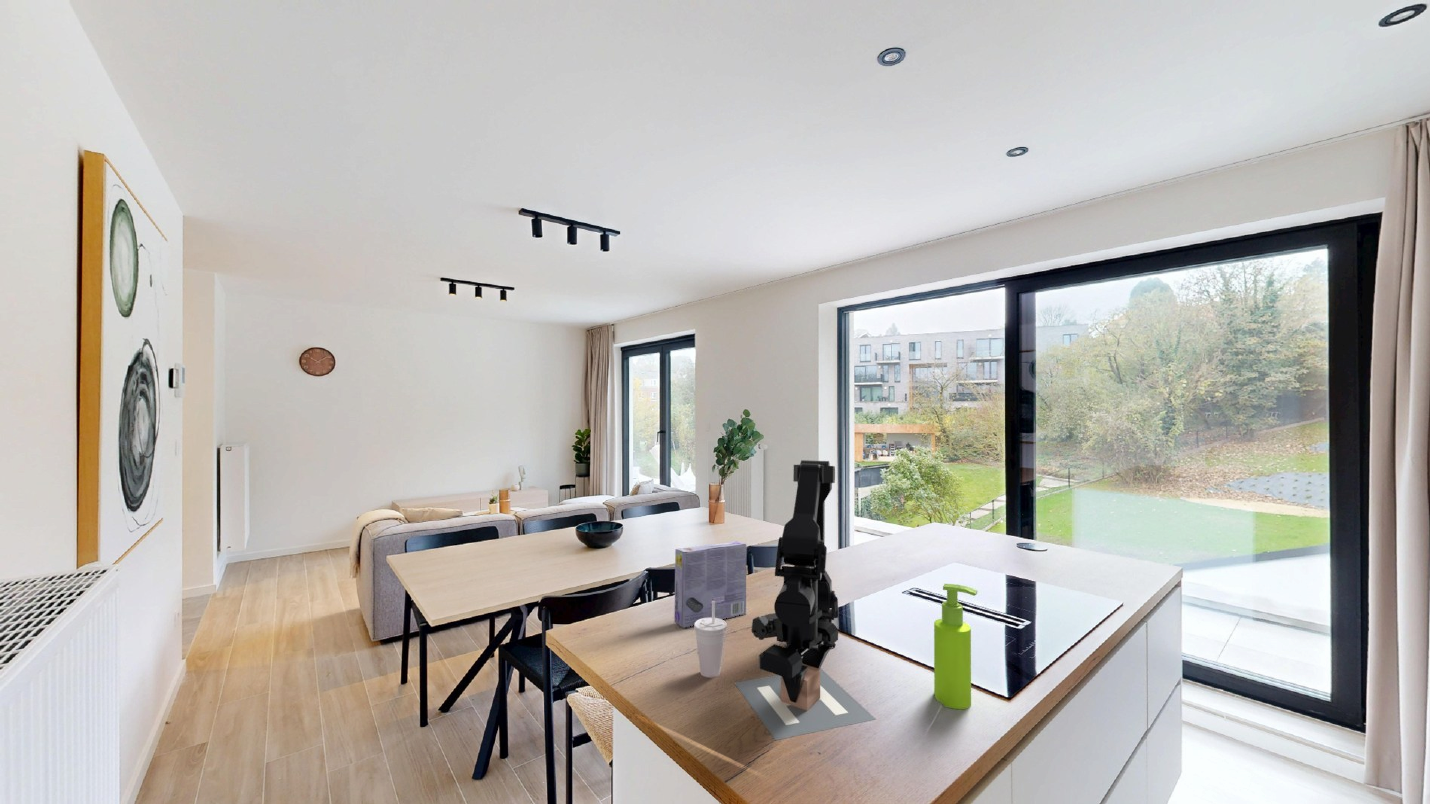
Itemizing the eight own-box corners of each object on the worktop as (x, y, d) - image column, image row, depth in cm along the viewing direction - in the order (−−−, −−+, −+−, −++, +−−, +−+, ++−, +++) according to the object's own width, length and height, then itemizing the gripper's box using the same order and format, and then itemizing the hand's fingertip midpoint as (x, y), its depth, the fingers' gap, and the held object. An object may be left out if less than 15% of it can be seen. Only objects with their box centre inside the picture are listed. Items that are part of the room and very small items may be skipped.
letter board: (820, 670, 104) (820, 668, 104) (876, 721, 86) (876, 719, 87) (734, 684, 98) (734, 682, 98) (775, 742, 81) (775, 740, 81)
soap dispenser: (975, 715, 88) (975, 594, 89) (931, 702, 92) (931, 587, 92) (979, 699, 93) (979, 584, 94) (937, 687, 97) (937, 578, 97)
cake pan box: (739, 607, 136) (740, 538, 137) (751, 614, 132) (751, 542, 132) (672, 622, 126) (673, 548, 127) (682, 630, 122) (682, 553, 122)
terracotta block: (794, 689, 96) (794, 661, 96) (820, 698, 93) (820, 669, 93) (780, 701, 92) (781, 672, 92) (807, 711, 89) (807, 680, 89)
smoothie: (723, 684, 98) (723, 608, 98) (689, 681, 99) (690, 605, 99) (729, 668, 104) (729, 596, 104) (697, 664, 106) (698, 594, 106)
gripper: (786, 581, 105) (786, 661, 105) (732, 610, 90) (731, 703, 90) (839, 593, 98) (839, 678, 98) (790, 626, 83) (790, 726, 83)
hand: (800, 694), depth 92 cm, fingers closed on terracotta block, 5 cm apart
